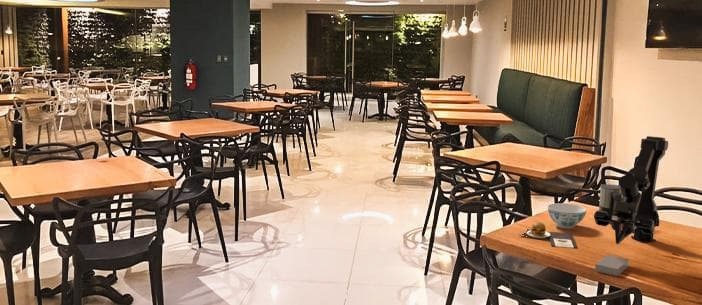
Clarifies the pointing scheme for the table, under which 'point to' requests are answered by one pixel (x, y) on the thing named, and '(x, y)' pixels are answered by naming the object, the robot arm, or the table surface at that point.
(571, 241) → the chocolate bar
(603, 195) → the milk frother
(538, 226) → the hamburger
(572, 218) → the chinaware
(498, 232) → the table surface
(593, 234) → the table surface
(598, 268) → the ceramic tile
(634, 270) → the table surface
